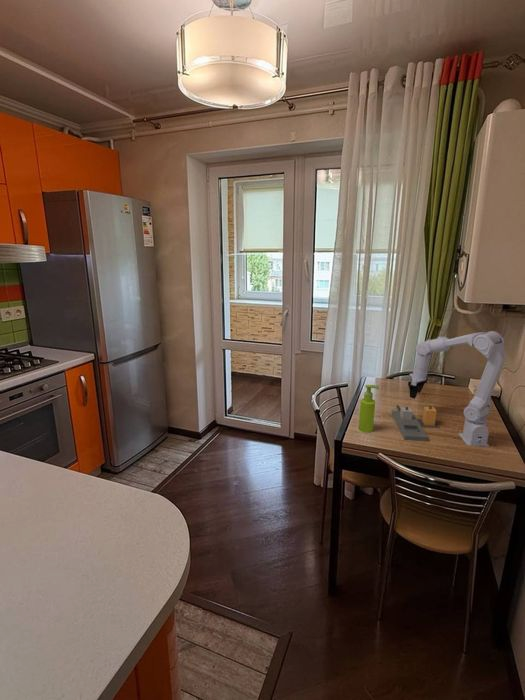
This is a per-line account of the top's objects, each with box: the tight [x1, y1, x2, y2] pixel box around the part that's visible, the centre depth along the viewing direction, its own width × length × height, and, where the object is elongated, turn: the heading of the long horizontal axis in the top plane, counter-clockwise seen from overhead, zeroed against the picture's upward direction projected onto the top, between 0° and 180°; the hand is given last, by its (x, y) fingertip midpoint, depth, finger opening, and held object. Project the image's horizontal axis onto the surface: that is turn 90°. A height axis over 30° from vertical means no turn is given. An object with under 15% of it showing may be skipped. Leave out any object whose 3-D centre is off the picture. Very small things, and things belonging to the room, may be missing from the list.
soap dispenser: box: [358, 384, 380, 434], centre depth 155 cm, size 6×7×20 cm
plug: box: [421, 405, 437, 426], centre depth 161 cm, size 4×4×8 cm
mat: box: [416, 418, 442, 429], centre depth 162 cm, size 8×8×1 cm
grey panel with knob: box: [391, 404, 429, 442], centre depth 162 cm, size 32×9×7 cm, turn 173°
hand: (415, 394), depth 167 cm, fingers open, 7 cm apart
